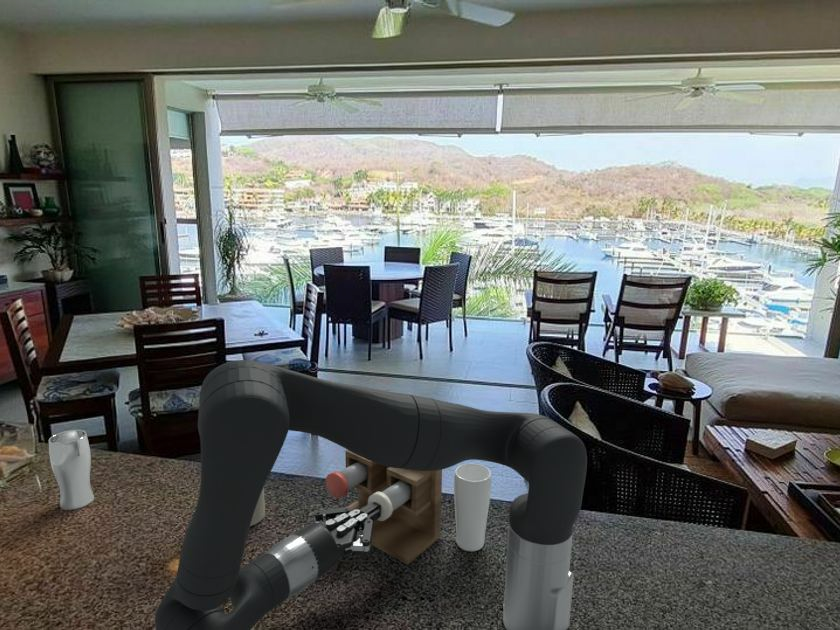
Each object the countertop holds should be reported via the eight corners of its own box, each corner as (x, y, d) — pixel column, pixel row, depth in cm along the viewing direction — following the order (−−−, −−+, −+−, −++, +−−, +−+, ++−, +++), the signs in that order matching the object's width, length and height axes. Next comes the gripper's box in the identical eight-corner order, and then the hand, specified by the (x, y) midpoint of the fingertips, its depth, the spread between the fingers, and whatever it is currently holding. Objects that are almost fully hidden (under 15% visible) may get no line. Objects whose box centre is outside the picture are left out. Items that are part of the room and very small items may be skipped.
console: (440, 537, 102) (442, 451, 98) (407, 564, 94) (408, 473, 90) (365, 499, 114) (364, 422, 110) (330, 521, 106) (328, 439, 102)
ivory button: (423, 499, 99) (423, 476, 98) (388, 525, 91) (388, 500, 90) (403, 490, 102) (403, 468, 101) (367, 514, 94) (367, 490, 93)
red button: (379, 480, 106) (379, 458, 105) (343, 502, 98) (343, 478, 97) (362, 472, 109) (362, 450, 107) (325, 493, 101) (325, 470, 100)
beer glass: (60, 497, 113) (50, 432, 110) (98, 489, 116) (89, 426, 113) (54, 514, 107) (43, 446, 104) (94, 506, 110) (85, 440, 107)
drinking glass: (486, 558, 96) (490, 483, 93) (449, 552, 98) (452, 479, 94) (489, 535, 103) (492, 465, 99) (454, 530, 104) (457, 461, 101)
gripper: (329, 557, 74) (407, 502, 87) (270, 520, 82) (350, 475, 95) (330, 602, 76) (407, 542, 89) (273, 562, 84) (351, 512, 97)
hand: (377, 508), depth 92 cm, fingers closed
